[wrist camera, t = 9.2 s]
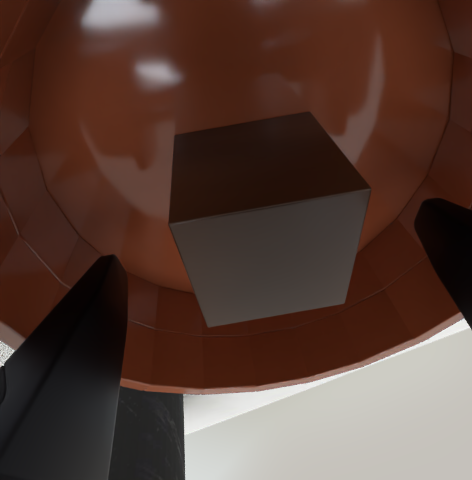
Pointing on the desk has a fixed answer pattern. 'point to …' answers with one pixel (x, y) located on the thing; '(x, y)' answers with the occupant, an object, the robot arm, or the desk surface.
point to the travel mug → (148, 436)
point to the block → (265, 217)
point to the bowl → (213, 116)
